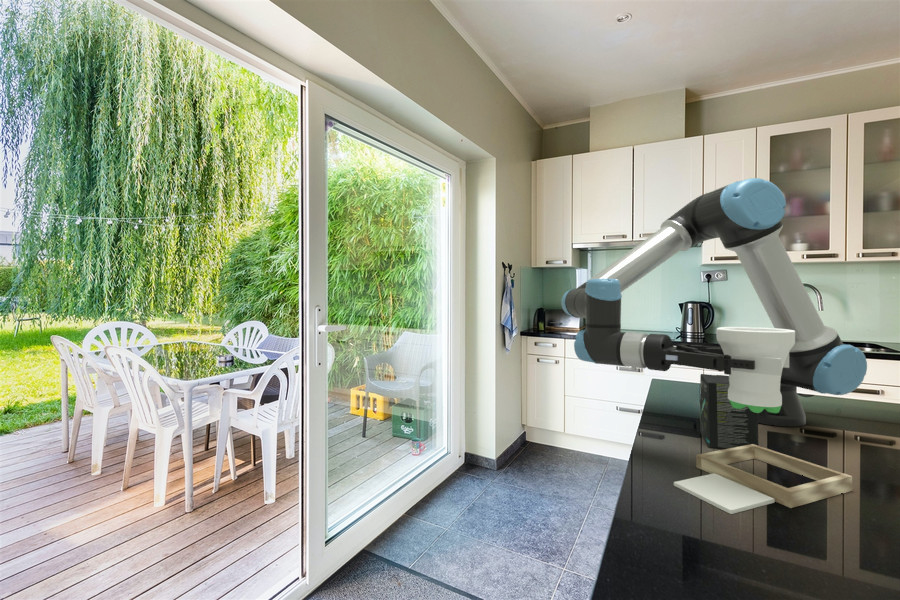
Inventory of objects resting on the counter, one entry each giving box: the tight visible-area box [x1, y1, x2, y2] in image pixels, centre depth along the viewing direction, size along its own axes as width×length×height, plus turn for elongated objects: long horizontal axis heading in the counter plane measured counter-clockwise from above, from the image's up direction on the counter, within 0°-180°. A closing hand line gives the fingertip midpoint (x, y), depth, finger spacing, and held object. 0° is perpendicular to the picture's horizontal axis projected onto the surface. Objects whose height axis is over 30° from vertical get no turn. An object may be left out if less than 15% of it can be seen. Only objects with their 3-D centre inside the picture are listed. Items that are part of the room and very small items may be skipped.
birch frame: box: [695, 444, 853, 509], centre depth 72 cm, size 16×16×2 cm
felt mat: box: [673, 473, 775, 515], centre depth 67 cm, size 10×10×1 cm
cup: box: [715, 326, 795, 413], centre depth 71 cm, size 11×11×14 cm
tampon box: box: [699, 373, 760, 450], centre depth 90 cm, size 11×9×15 cm
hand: (785, 363), depth 68 cm, fingers closed on cup, 10 cm apart
